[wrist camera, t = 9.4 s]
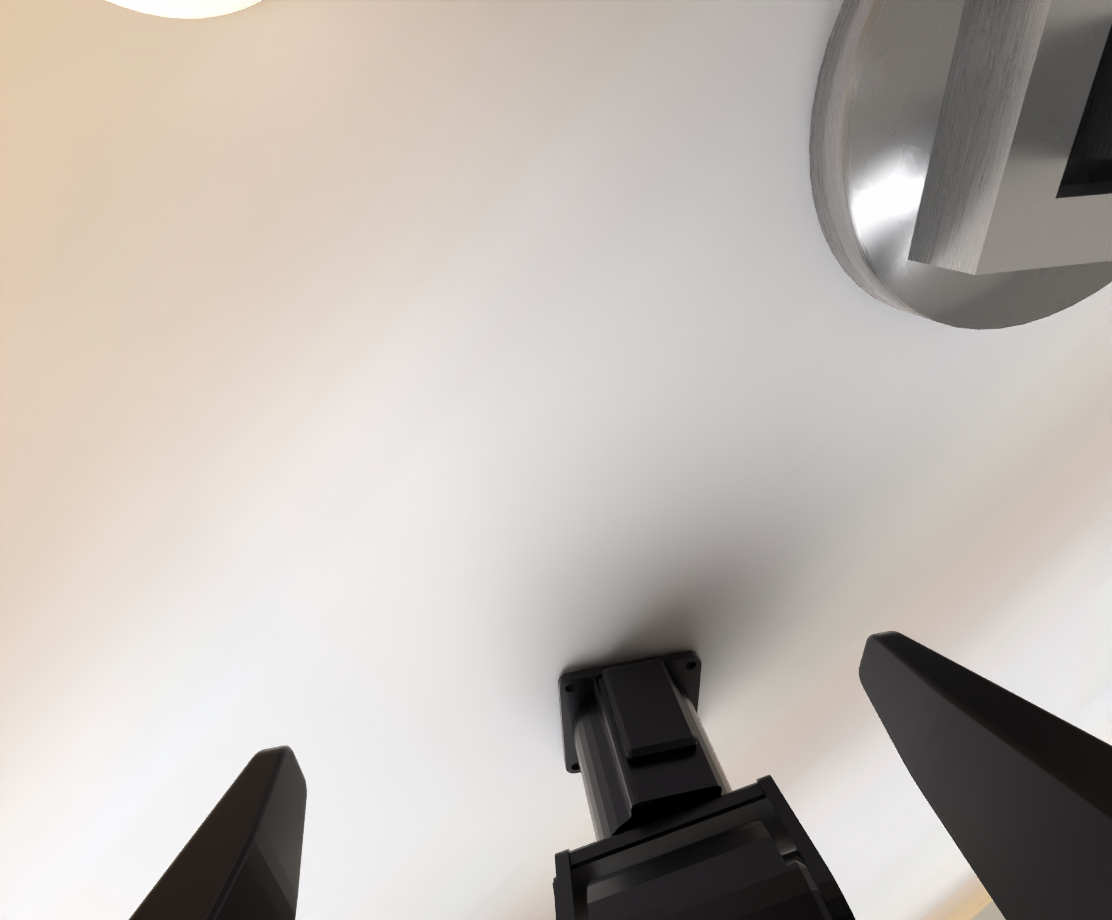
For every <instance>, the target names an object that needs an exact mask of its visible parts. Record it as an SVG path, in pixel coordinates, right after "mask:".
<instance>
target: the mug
mask: <svg viewBox="0 0 1112 920" xmlns="http://www.w3.org/2000/svg"><path fill="white" fill-rule="evenodd" d="M106 1H109V2H111V3H114V4H116V5H119V6H122V7H125V8H128V9H131V10H135V11H138V12H142V13H147V14H151V15H157V16H163V17H171V18H186V19H194V18H209V17H216V16H221V15H226V14H230V13H233V12H237V11H240V10H243V9H245V8H248V7H250V6H252V5H254V4H256V3H258V2H260V1H262V0H106Z"/></svg>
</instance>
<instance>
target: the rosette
mask: <svg viewBox="0 0 1112 920" xmlns="http://www.w3.org/2000/svg"><path fill="white" fill-rule="evenodd" d="M1111 25H1112V0H845V2H844V4H843V6H842V9H841V11H840V14H839V16H838V19H837V22H836V24H835V27H834V29H833V32H832V34H831V37H830V40H829V43H828V46H827V50H826V53H825V57H824V60H823V64H822V67H821V71H820V74H819V78H818V84H817V89H816V95H815V100H814V106H813V111H812V122H811V134H810V175H811V183H812V190H813V196H814V203H815V207H816V211H817V214H818V218H819V221H820V225H821V228H822V231H823V233H824V235H825V238H826V240H827V242H828V244H829V246H830V249H831V251H832V253H833V254H834V256H835V257H836V259H837V260H838V262H839V263H840V265H841V266H842V268H843V269H844V271H845V272H846V273H847V274H848V275H849V276H850V277H851V278H852V279H853V280H854V281H855V282H856V284H857V285H858V286H859V287H861V288H862V289H864V290H865V291H866V292H868V293H869V294H870V295H872V296H873V297H874V298H876V299H878V300H880V301H882V302H884V303H886V304H888V305H890V306H892V307H895V308H898V309H901V310H904V311H907V312H910V313H913V314H916V315H919V316H922V317H925V318H928V319H930V320H933V321H936V322H940V323H943V324H947V325H950V326H954V327H959V328H969V329H999V328H1005V327H1011V326H1016V325H1021V324H1026V323H1029V322H1032V321H1035V320H1038V319H1041V318H1044V317H1048V316H1050V315H1052V314H1054V313H1057V312H1059V311H1061V310H1063V309H1066V308H1068V307H1070V306H1072V305H1074V304H1076V303H1078V302H1079V301H1081V300H1083V299H1085V298H1086V297H1088V296H1090V295H1092V294H1094V293H1095V292H1097V291H1098V290H1100V289H1101V288H1103V287H1104V286H1106V285H1107V284H1109V283H1110V282H1111V281H1112V159H1068V158H1069V155H1070V152H1071V148H1072V145H1073V142H1074V139H1075V136H1076V133H1077V130H1078V127H1079V124H1080V121H1081V117H1082V114H1083V111H1084V108H1085V105H1086V102H1087V99H1088V96H1089V93H1090V90H1091V87H1092V83H1093V80H1094V77H1095V74H1096V71H1097V68H1098V65H1099V62H1100V59H1101V56H1102V52H1103V49H1104V46H1105V43H1106V40H1107V37H1108V34H1109V31H1110V28H1111Z"/></svg>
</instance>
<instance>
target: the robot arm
mask: <svg viewBox="0 0 1112 920" xmlns="http://www.w3.org/2000/svg"><path fill="white" fill-rule="evenodd" d="M700 674H701V660H700V658H699V656H698V654H697V653H696V652H694V651H685V652H679V653H674V654H668V655H663V656H658V657H652V658H647V659H641V660H636V661H630V662H625V663H620V664H614V665H609V666H603V667H598V668H593V669H587V670H582V671H576V672H571V673H567V674H564V675H563V676H561V677H560V679H559V681H558V688H559V700H560V713H561V725H562V737H563V749H564V761H565V766H566V770H567V771H568V772H569V773H579V772H581V774H582V778H583V783H584V787H585V791H586V796H587V800H588V805H589V809H590V813H591V818H592V822H593V826H594V831H595V835H596V840H597V842H594V843H591V844H588V845H586V846H583V847H580V848H578V849H575V850H572V851H570V850H569V849H567V850H564V851H562V852H559V853H556V854H555V864H556V877H555V878H554V882H553V890H554V896H555V910H556V920H855V918H854V916H853V913H852V911H851V909H850V907H849V905H848V903H847V902H846V900H845V898H844V896H843V894H842V892H841V890H840V888H839V886H838V884H837V883H836V881H835V879H834V877H833V875H832V874H831V872H830V870H829V869H828V867H827V865H826V864H825V862H824V861H823V859H822V857H821V856H820V854H819V852H818V851H817V849H816V848H815V846H814V844H813V843H812V841H811V840H810V838H809V836H808V835H807V833H806V832H805V830H804V828H803V827H802V825H801V824H800V822H799V820H798V819H797V817H796V816H795V814H794V812H793V811H792V809H791V808H790V806H789V804H788V803H787V801H786V800H785V798H784V796H783V795H782V793H781V792H780V790H779V788H778V787H777V785H776V784H775V782H774V780H773V779H772V777H771V776H770V775H767V776H764V777H762V778H759V779H756V780H757V782H756V783H754V784H751V785H748V786H745V787H743V788H740V789H737V790H735V791H732V789H731V787H730V785H729V783H728V780H727V778H726V776H725V774H724V772H723V770H722V767H721V765H720V763H719V761H718V759H717V756H716V754H715V752H714V750H713V748H712V746H711V743H710V741H709V739H708V737H707V735H706V733H705V730H704V728H703V726H702V724H701V722H700V719H699V717H698V715H697V709H698V697H699V685H700ZM859 677H860V681H861V683H862V686H863V688H864V690H865V691H866V693H867V695H868V697H869V699H870V701H871V703H872V704H873V706H874V708H875V710H876V712H877V714H878V716H879V717H880V719H881V721H882V723H883V725H884V727H885V729H886V730H887V732H888V734H889V736H890V738H891V740H892V742H893V743H894V745H895V747H896V749H897V751H898V753H899V755H900V756H901V758H902V760H903V762H904V764H905V765H906V767H907V769H908V771H909V772H910V774H911V776H912V777H913V779H914V781H915V782H916V784H917V785H918V787H919V789H920V790H921V792H922V793H923V795H924V796H925V798H926V799H927V801H928V802H929V804H930V805H931V807H932V808H933V810H934V811H935V813H936V814H937V816H938V817H939V819H940V820H941V822H942V824H943V825H944V827H945V828H946V830H947V831H948V833H949V834H950V836H951V837H952V839H953V840H954V842H955V843H956V845H957V846H958V848H959V849H960V851H961V852H962V854H963V855H964V857H965V858H966V860H967V861H968V863H969V864H970V866H971V867H972V869H973V870H974V872H975V873H976V875H977V877H978V878H979V880H980V881H981V883H982V884H983V886H984V887H985V889H986V890H987V892H988V893H989V895H990V896H991V898H992V899H993V901H994V902H995V904H996V905H997V907H998V908H999V910H1000V911H1001V913H1002V914H1003V916H1004V917H1005V919H1006V920H1112V746H1111V745H1109V744H1108V743H1106V742H1104V741H1102V740H1100V739H1098V738H1096V737H1094V736H1093V735H1091V734H1089V733H1087V732H1085V731H1083V730H1081V729H1079V728H1078V727H1076V726H1074V725H1072V724H1070V723H1068V722H1066V721H1064V720H1062V719H1061V718H1059V717H1057V716H1055V715H1053V714H1051V713H1049V712H1047V711H1046V710H1044V709H1042V708H1040V707H1038V706H1036V705H1034V704H1032V703H1031V702H1029V701H1027V700H1025V699H1023V698H1021V697H1019V696H1017V695H1016V694H1014V693H1012V692H1010V691H1008V690H1006V689H1004V688H1002V687H1001V686H999V685H997V684H995V683H993V682H991V681H989V680H987V679H986V678H984V677H982V676H980V675H978V674H976V673H974V672H972V671H970V670H969V669H967V668H965V667H963V666H961V665H959V664H957V663H955V662H954V661H952V660H950V659H948V658H946V657H944V656H942V655H940V654H939V653H937V652H935V651H933V650H931V649H929V648H927V647H925V646H924V645H922V644H920V643H918V642H916V641H914V640H912V639H910V638H909V637H907V636H905V635H903V634H901V633H899V632H895V631H887V632H882V633H877V634H872V635H870V636H869V637H868V639H867V641H866V645H865V648H864V652H863V656H862V659H861V663H860V667H859ZM569 684H570V685H569ZM306 798H307V788H306V781H305V778H304V775H303V773H302V771H301V769H300V766H299V764H298V762H297V759H296V757H295V755H294V752H293V751H292V749H291V748H290V747H289V746H279V747H274V748H269V749H264V750H261V751H259V752H258V753H257V754H255V755H254V757H253V758H252V759H251V760H250V762H249V763H248V764H247V766H246V767H245V768H244V769H243V771H242V772H241V773H240V775H239V776H238V777H237V779H236V780H235V781H234V783H233V784H232V785H231V787H230V788H229V789H228V790H227V792H226V793H225V794H224V796H223V797H222V798H221V800H220V801H219V802H218V804H217V805H216V806H215V807H214V809H213V810H212V811H211V813H210V814H209V815H208V817H207V818H206V819H205V821H204V822H203V823H202V825H201V826H200V827H199V828H198V830H197V831H196V832H195V834H194V835H193V836H192V838H191V839H190V840H189V842H188V843H187V844H186V846H185V847H184V848H183V849H182V851H181V852H180V853H179V855H178V856H177V857H176V859H175V860H174V861H173V863H172V864H171V865H170V866H169V868H168V869H167V870H166V872H165V873H164V874H163V876H162V877H161V878H160V880H159V881H158V882H157V884H156V885H155V886H154V887H153V889H152V890H151V891H150V893H149V894H148V895H147V897H146V898H145V899H144V901H143V902H142V903H141V904H140V906H139V907H138V908H137V910H136V911H135V912H134V914H133V915H132V916H131V918H130V919H129V920H295V916H296V908H297V899H298V888H299V877H300V866H301V854H302V843H303V832H304V821H305V810H306Z"/></svg>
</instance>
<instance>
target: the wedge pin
mask: <svg viewBox="0 0 1112 920" xmlns="http://www.w3.org/2000/svg"><path fill="white" fill-rule="evenodd" d="M1068 159H1112V25H1111V28H1110V31H1109V34H1108V37H1107V40H1106V43H1105V46H1104V49H1103V52H1102V56H1101V59H1100V62H1099V65H1098V68H1097V71H1096V74H1095V77H1094V80H1093V83H1092V87H1091V90H1090V93H1089V96H1088V99H1087V102H1086V105H1085V108H1084V111H1083V114H1082V117H1081V121H1080V124H1079V127H1078V130H1077V133H1076V136H1075V139H1074V142H1073V145H1072V148H1071V152H1070V155H1069V158H1068Z"/></svg>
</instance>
